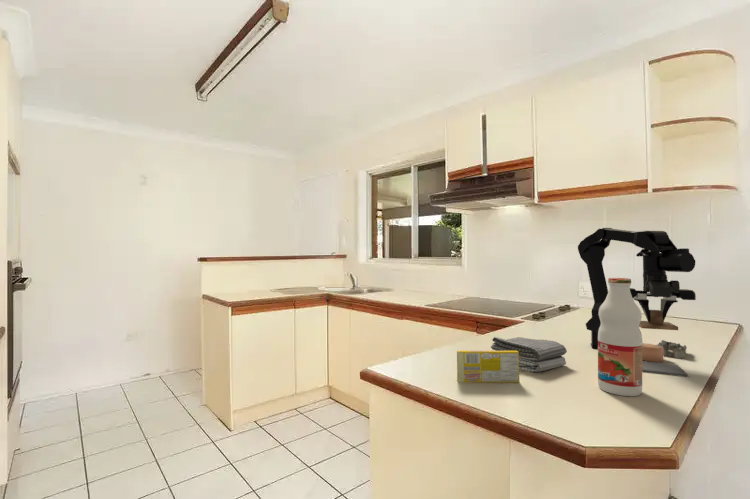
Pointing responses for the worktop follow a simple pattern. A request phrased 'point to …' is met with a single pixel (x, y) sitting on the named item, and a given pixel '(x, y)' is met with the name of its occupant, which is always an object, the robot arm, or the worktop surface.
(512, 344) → the towel
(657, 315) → the lid
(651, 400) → the worktop surface
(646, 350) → the peach rounded dome
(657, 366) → the mat
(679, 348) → the egg carton
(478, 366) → the candy box
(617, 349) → the fruit juice
